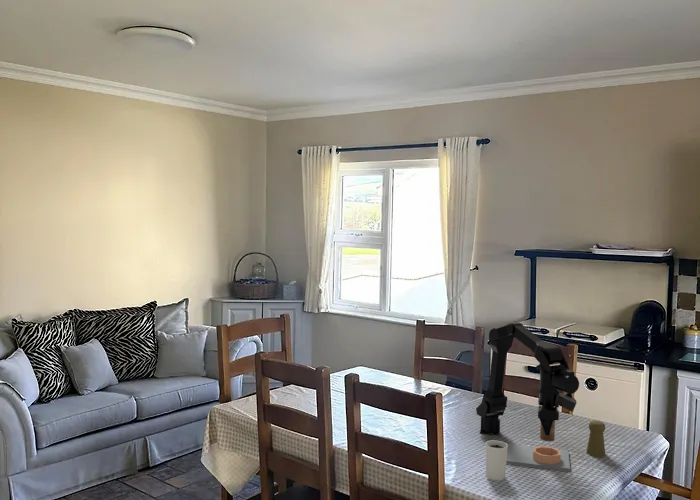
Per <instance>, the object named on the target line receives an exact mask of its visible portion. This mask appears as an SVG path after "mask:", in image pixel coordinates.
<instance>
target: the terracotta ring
mask: <svg viewBox="0 0 700 500" xmlns="http://www.w3.org/2000/svg"><path fill="white" fill-rule="evenodd" d="M534 447H535V448H533V459H534V460H536V461H538V462H540V463H546V464H556V463H560V458H561V453H560V451H559V450H557V448H555V447H554V446H553V447H552V446H545V445H544V446H543V445H540V446H534ZM542 454H543V455H542Z"/></svg>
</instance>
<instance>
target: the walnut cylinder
mask: <svg viewBox="0 0 700 500" xmlns="http://www.w3.org/2000/svg"><path fill="white" fill-rule="evenodd" d="M555 429H556V420H554V421H553V423H552V427H551V430H550V434H549V435H545V432H544V429H543V427H542V424H541V423H540V432H539V433H540V435H539V439H541V440H542V441H545V442H554V441H555V437H556V436H555V433H556V432H555V431H556V430H555Z"/></svg>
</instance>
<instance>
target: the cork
mask: <svg viewBox="0 0 700 500" xmlns="http://www.w3.org/2000/svg"><path fill="white" fill-rule="evenodd" d="M588 428H589V437H588V441H587V446H586V454H587V455H588V456H591V457H596V458H603V457H606V448H605V447H606V446H605V437H604V432H605V431H606V424H605V423H604V422H603V421H600V420H594V419H593V420H591V421H590V422H589V423H588Z"/></svg>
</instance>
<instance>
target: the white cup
mask: <svg viewBox="0 0 700 500" xmlns="http://www.w3.org/2000/svg"><path fill="white" fill-rule="evenodd" d="M484 448H485V476H486V477H487V478H488V479H489V480H493V481H503V480H505V479H506V474H507V473H506V472H507V471H506V470H507V464H506V461H507V448H508V445H507V443H506V442H504V441H502V440H501V441H500V440H495V439H492V440H487V441H486V442H485V447H484Z"/></svg>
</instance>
